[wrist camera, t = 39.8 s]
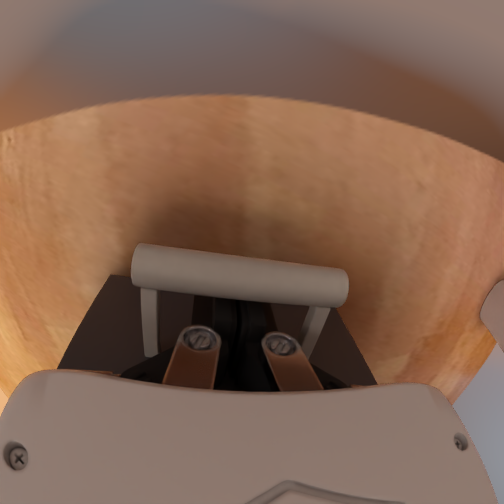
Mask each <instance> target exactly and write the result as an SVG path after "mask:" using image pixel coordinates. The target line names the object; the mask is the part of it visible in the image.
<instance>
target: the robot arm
mask: <svg viewBox="0 0 504 504" xmlns="http://www.w3.org/2000/svg"><path fill="white" fill-rule="evenodd" d="M227 367H228V374H229V378H233V379H234V385H240V386H241V387H242V388H244V389H245V391H224V390H214V389H215V388H217V387H218V386H220V385H221V384H222V382H223V377H225V376H226V372H227ZM0 504H498V502H497V498H496V495H495V492H494V489H493V487H492V484H491V481H490V479H489V476H488V474H487V471H486V469H485V467H484V464H483V462H482V460H481V458H480V456H479V453H478V451H477V449H476V447H475V445H474V444H473V441H472V440H471V437H470V436H469V434H468V432H467V430H466V428H465V426H464V425H463V423H462V421H461V419H460V418H459V416H458V415H457V413H456V411H455V410H454V408H453V407H452V405H451V404H450V402H449V401H448V400H447V398H446V397H445V396H444V395H443V394H442V393H441V392H440V391H439V390H438V389H437V388H435V387H432V386H430V385H426V384H421V383H412V382H402V383H390V384H380V385H372V386H362V385H352V384H350V386H349V387H348V386H347V385H346V384H345V383H344V382H342V381H341V380H339V379H337V378H335V377H334V376H332V375H330V374H329V373H327V372H325V371H323V370H322V369H320V368H318V367H317V366H315V365H313V364H312V363H310V362H309V361H308V359H307V357H306V356H305V354H304V352H303V350H302V348H301V346H300V345H299V343H298V342H297V340H296V339H295V338H293V337H292V336H291V335H288V334H286V333H283V332H278V329H277V325H276V322H275V318H274V315H273V311H272V308H271V304H270V303H267V302H256V301H246V300H236V299H227V298H218V297H209V296H201V295H194V303H193V312H192V321H191V326H188V327H186V328H184V329H183V330H182V331H181V333H180V335H179V337H178V340H177V343H176V345H175V346H173V347H171V348H169V349H167V350H165V351H163V352H161V353H159V354H157V355H155V356H153V357H151V358H149V359H147V360H145V361H143V362H141V363H139V364H137V365H135V366H133V367H131V368H129V369H127V370H126V371H124V372H123V373H122V374H114V372H113V371H94V370H77V369H54V370H43V371H38V372H35V373H32V374H30V375H28V376H27V377H25V378H24V379H23V380H22V381H21V382H20V383H19V384H18V386H17V387H16V388H15V390H14V392H13V393H12V395H11V396H10V398H9V400H8V402H7V404H6V406H5V408H4V410H3V412H2V414H1V417H0Z"/></svg>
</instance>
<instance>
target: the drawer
mask: <svg viewBox="0 0 504 504" xmlns="http://www.w3.org/2000/svg"><path fill="white" fill-rule="evenodd" d="M348 291H349V279H348V276H347V273H346V272H345V271H344V270H343V269H339V268H331V267H323V266H315V265H307V264H299V263H292V262H284V261H276V260H268V259H260V258H252V257H245V256H237V255H229V254H221V253H214V252H206V251H199V250H191V249H183V248H176V247H168V246H161V245H154V244H146V243H139V244H138V245H137V246H136V248H135V251H134V254H133V258H132V264H131V277H125V276H119V275H112V274H111V275H110V276H109V278H108V279H107V281H106V282H105V284H104V286H103V287H102V289H101V290H100V292H99V294H98V295H97V297H96V298H95V300H94V302H93V303H92V305H91V307H90V308H89V310H88V312H87V313H86V315H85V317H84V319H83V320H82V322H81V324H80V326H79V327H78V329H77V331H76V333H75V335H74V336H73V338H72V340H71V342H70V344H69V346H68V348H67V350H66V352H65V354H64V356H63V358H62V360H61V362H60V364H59V366H58V368H57V369H77V370H94V371H113V372H114V374H122V373H123V372H124V371H126V370H127V369H129V368H131V367H133V366H135V365H137V364H139V363H141V362H143V361H145V360H147V359H149V358H151V357H153V356H155V355H157V354H159V353H161V352H163V351H165V350H167V349H169V348H171V347H173V346H175V345H176V343H177V340H178V337H179V335H180V333H181V331H182V330H183V329H184V328H186V327H188V326H191V321H192V312H193V303H194V295H201V296H209V297H218V298H227V299H236V300H246V301H256V302H267V303H270V304H271V308H272V311H273V315H274V318H275V322H276V325H277V329H278V332H283V333H286V334H288V335H291V336H292V337H293V338H295V339H296V340H297V342H298V343H299V345H300V346H301V348H302V350H303V352H304V354H305V356H306V357H307V359H308V361H309V362H310V363H312V364H313V365H315V366H317V367H318V368H320V369H322V370H323V371H325V372H327V373H329V374H330V375H332V376H334V377H335V378H337V379H339V380H341V381H342V382H344V383H345V384H346V385H347V386H348V387H349V386H350V384H352V385H362V386H372V385H378V384H377V382H376V380H375V378H374V376H373V375H372V373H371V371H370V369H369V367H368V365H367V363H366V362H365V360H364V358H363V356H362V354H361V352H360V351H359V349H358V347H357V345H356V343H355V342H354V340H353V338H352V336H351V334H350V333H349V331H348V329H347V327H346V326H345V324H344V322H343V320H342V319H341V317H340V315H339V313H338V312H337V310H336V308H337V307H340V306H342V305H343V304H344V302H345V301H346V299H347V296H348ZM214 390H224V391H245V389H244V388H242V387H241V386H240V385H234V379H233V378H229V374H228V367H227V372H226V376H225V377H223V382H222V384H221V385H220V386H218V387H217V388H215V389H214Z"/></svg>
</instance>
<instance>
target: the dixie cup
mask: <svg viewBox="0 0 504 504" xmlns="http://www.w3.org/2000/svg"><path fill="white" fill-rule="evenodd" d="M480 319H481V320H482V322H483V323H484V324H485V326H486V327H487V328H488V330H489V331H490V333H491V334H492V336H493V337H494V339H495V340H496V341H497V343H498V344H499V346H500V348H501V349H502V351H503V352H504V280H501V281H500V282H498V283H497V284H496V285H495V286H494V287H493V289H492V290H491V291H490V293H489V294H488V296H487V298H486V299H485V301H484V303H483V306H482V308H481V312H480Z"/></svg>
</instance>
